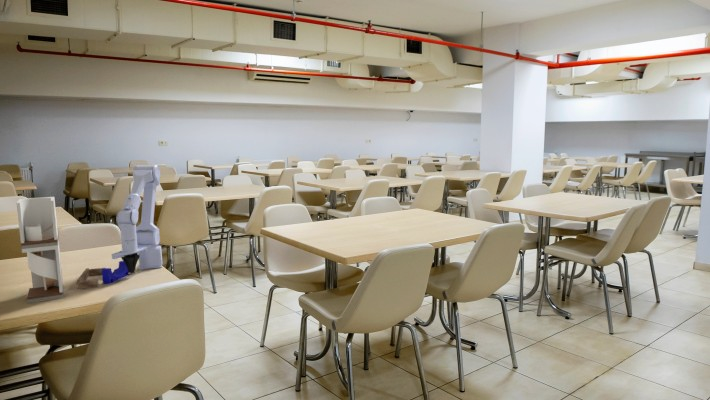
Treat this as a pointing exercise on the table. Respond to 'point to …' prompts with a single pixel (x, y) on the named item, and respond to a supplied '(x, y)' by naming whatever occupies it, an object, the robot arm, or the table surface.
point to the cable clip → (114, 273)
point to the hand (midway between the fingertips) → (131, 272)
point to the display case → (41, 247)
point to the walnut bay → (88, 272)
